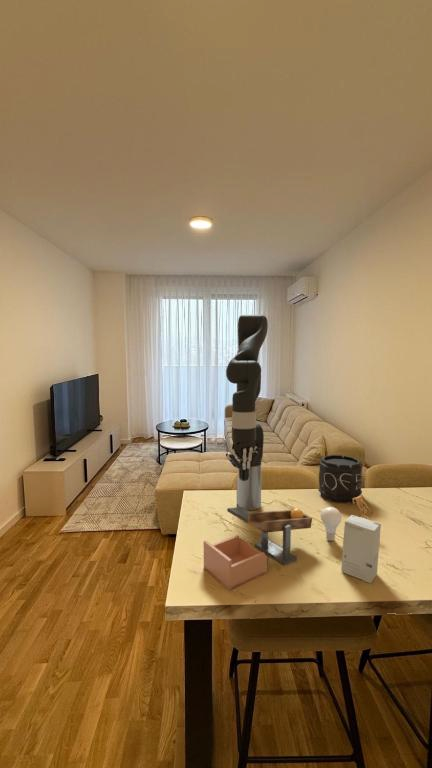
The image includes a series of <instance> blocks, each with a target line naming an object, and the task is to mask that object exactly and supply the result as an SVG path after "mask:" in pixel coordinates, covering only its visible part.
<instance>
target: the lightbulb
mask: <svg viewBox="0 0 432 768" xmlns="http://www.w3.org/2000/svg"><path fill="white" fill-rule="evenodd" d="M320 520H321V521H322V523H323V525H324V528H325V531H326V534H325V536H326V537H325V538H326V540H328V541H330V542H332V541H335V539H336V532H337V528H338V527H339V526H340V524H341V523H342V514H341V512H340V510H338V508H336V507H333V506H326V507H324V508H323V509H322V511H321V513H320Z"/></svg>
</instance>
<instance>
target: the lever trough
mask: <svg viewBox="0 0 432 768" xmlns="http://www.w3.org/2000/svg"><path fill="white" fill-rule="evenodd" d="M292 510H293V509H287V510H286V509H285V510H270V511H253V512H251V511H250V510H246V509H244V508H242V507H239V506H238V507H228V508H226V511H227V513H229V514H231V515H233V516H234V517H235V518H238V519H240V520H241V521H243V522H245V523H246V524H249V525H250V526H252V527H253V528H255V529H257V530H259V531H260V532H261V531H262V532H264V533H268V534H269V533H278V532H283V526H284V525H287V524H289V525H290V526H291V531H294V530H304V529H311V527H312V522H313V517H310V516H308V515H306V514H304V513H303V518H297V519H292V518H291V511H292Z"/></svg>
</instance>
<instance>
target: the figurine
mask: <svg viewBox="0 0 432 768" xmlns="http://www.w3.org/2000/svg"><path fill="white" fill-rule="evenodd" d="M363 498H364V496H363V494H361V495H360V496H359V497H355V498H352V499H353V502H352V504H355V503H356V504H357V507H358V509H360V510H359V515H360V517H361V518H365V519H368V520H370V521H372V520H371V519H370V518H369V517H368V516H367V515H366V513H367V511H368V510H369V513H371V514H372V510H371V509H370V507H368V505H367V503H366V502H364V500H363ZM354 499H355V500H356V502H354ZM365 507H366V508H365ZM367 509H368V510H367ZM363 511H364V512H363Z"/></svg>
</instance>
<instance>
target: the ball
mask: <svg viewBox="0 0 432 768" xmlns="http://www.w3.org/2000/svg"><path fill="white" fill-rule="evenodd" d="M291 510H292V511H291V518H292V519H297V518H303V514H304V512H303V510H302V509H300V508H297V507H295V508H293V509H291Z"/></svg>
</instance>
